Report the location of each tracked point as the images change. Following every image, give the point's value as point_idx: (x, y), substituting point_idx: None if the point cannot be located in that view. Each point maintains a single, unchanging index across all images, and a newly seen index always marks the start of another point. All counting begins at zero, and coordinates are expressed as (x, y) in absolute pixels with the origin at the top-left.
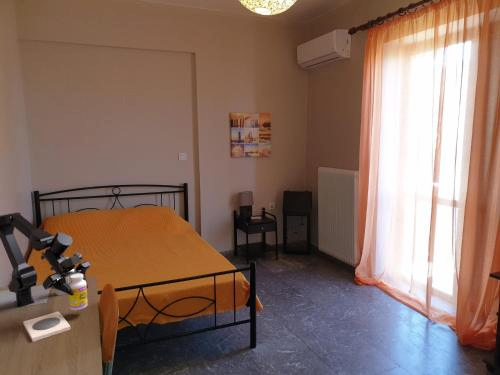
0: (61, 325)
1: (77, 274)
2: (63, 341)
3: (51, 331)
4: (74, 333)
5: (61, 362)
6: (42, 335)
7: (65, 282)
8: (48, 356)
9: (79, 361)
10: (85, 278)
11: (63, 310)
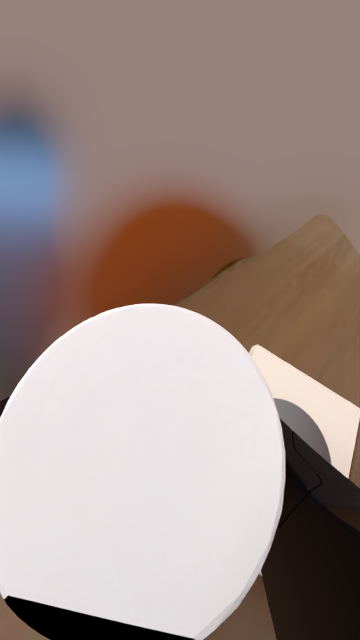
0: (266, 378)
1: (67, 473)
2: (302, 321)
3: (305, 381)
4: (263, 320)
5: (349, 271)
6: (332, 392)
7: (332, 502)
8: (355, 309)
9: (328, 244)
10: (6, 401)
11: None
